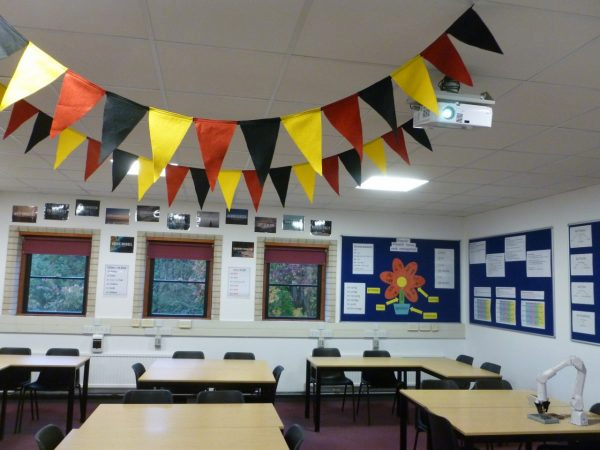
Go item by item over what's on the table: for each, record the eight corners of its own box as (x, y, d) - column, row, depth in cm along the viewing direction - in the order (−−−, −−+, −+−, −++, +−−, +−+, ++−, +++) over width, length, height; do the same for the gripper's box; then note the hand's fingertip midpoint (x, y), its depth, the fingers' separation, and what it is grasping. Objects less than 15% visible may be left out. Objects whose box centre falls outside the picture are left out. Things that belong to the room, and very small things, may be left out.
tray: (559, 423, 324) (559, 419, 324) (544, 424, 321) (544, 420, 321) (541, 416, 339) (541, 413, 340) (527, 417, 336) (527, 414, 336)
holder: (563, 419, 334) (563, 416, 334) (553, 420, 332) (553, 417, 332) (553, 415, 343) (553, 413, 343) (543, 416, 340) (543, 413, 340)
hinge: (549, 409, 362) (544, 396, 362) (543, 411, 361) (539, 398, 361) (534, 403, 378) (530, 391, 379) (529, 406, 377) (525, 393, 378)
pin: (547, 420, 329) (547, 409, 330) (542, 420, 328) (542, 409, 329) (543, 418, 333) (542, 408, 334) (538, 418, 332) (538, 408, 332)
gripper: (541, 390, 340) (542, 410, 338) (530, 392, 331) (531, 412, 330) (551, 392, 334) (552, 412, 332) (540, 394, 326) (541, 415, 324)
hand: (542, 412), depth 331 cm, fingers open, 7 cm apart
